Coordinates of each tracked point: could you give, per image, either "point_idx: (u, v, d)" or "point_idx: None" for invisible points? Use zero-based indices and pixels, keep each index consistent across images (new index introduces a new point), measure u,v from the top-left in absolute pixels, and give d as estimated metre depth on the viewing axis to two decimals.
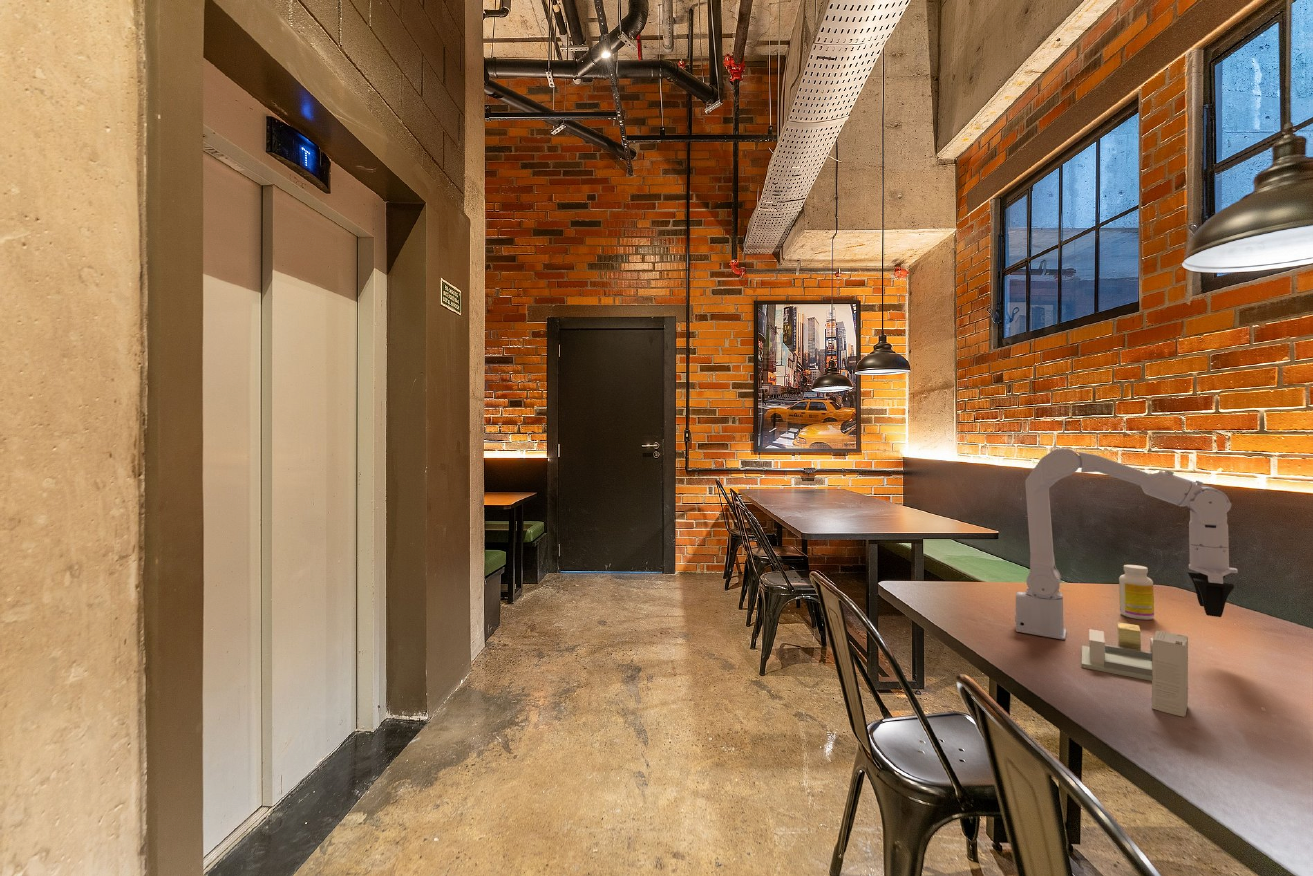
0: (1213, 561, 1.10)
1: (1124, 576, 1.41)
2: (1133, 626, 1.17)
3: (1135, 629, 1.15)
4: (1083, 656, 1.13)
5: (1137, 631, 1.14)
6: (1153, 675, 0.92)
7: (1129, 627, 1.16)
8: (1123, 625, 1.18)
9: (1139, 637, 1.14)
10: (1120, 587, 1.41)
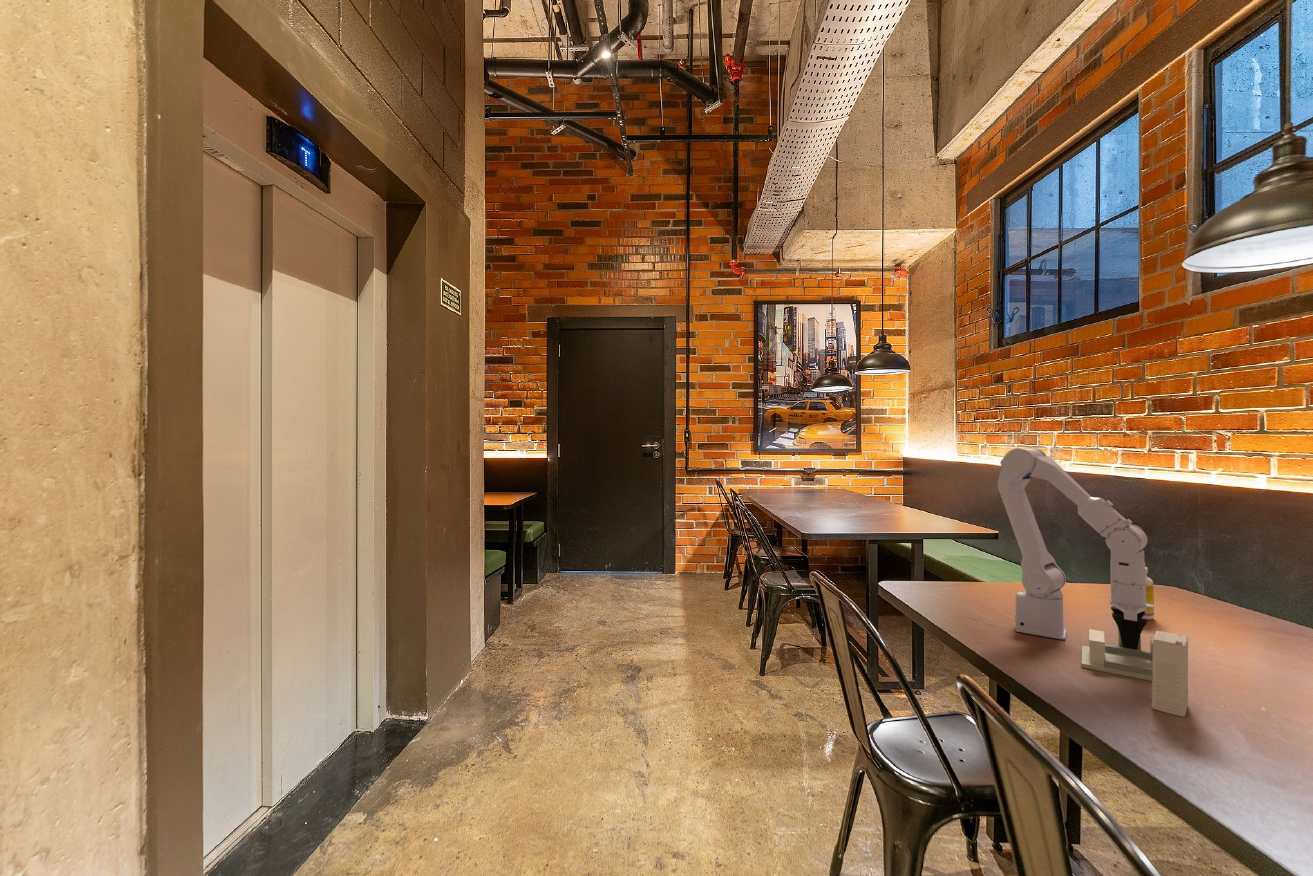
0: (1130, 598, 1.15)
1: None
2: None
3: None
4: (1083, 656, 1.13)
5: None
6: (1153, 675, 0.92)
7: None
8: None
9: None
10: None
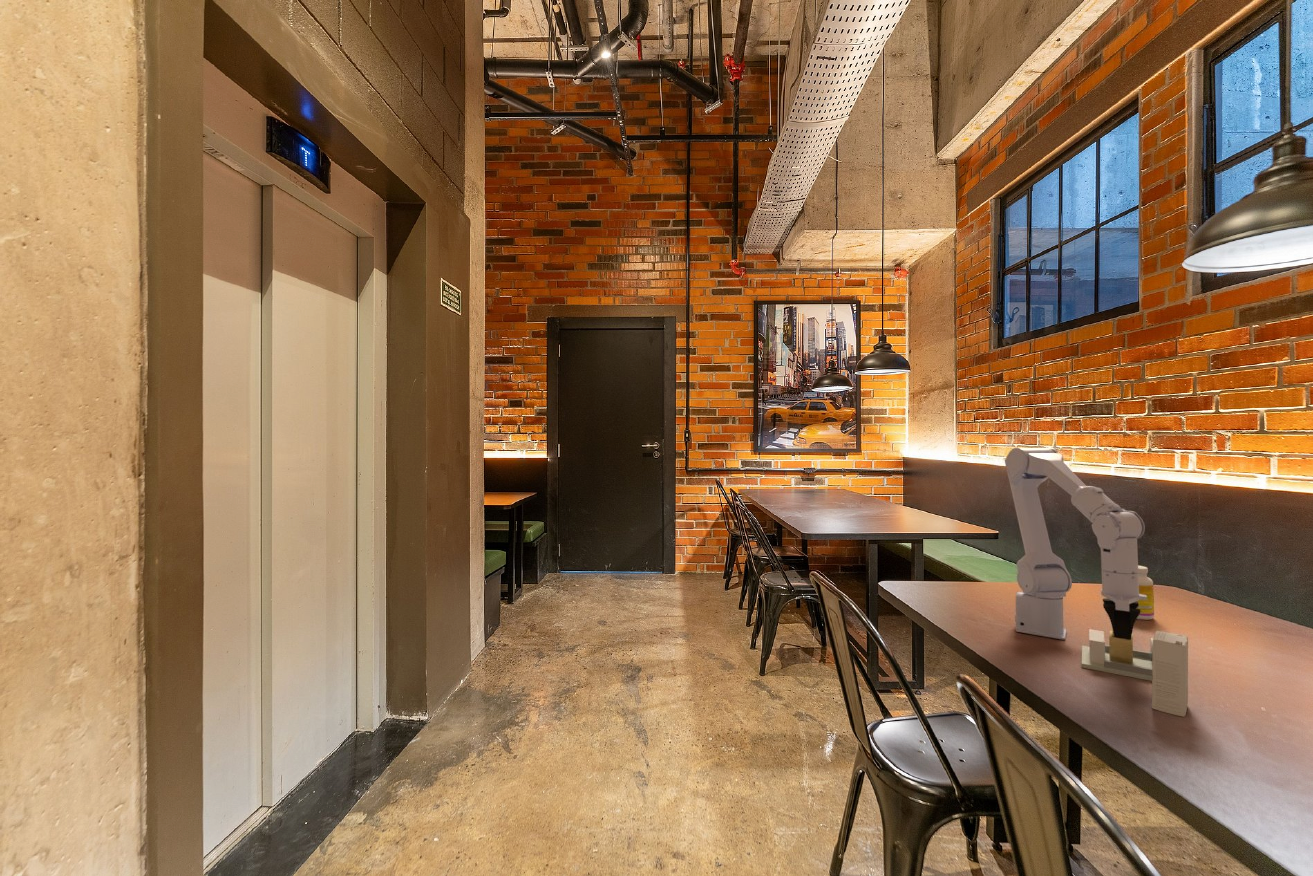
0: (1122, 588, 1.08)
1: None
2: None
3: None
4: (1083, 656, 1.13)
5: (1129, 640, 1.07)
6: (1153, 675, 0.92)
7: None
8: None
9: (1131, 647, 1.07)
10: None
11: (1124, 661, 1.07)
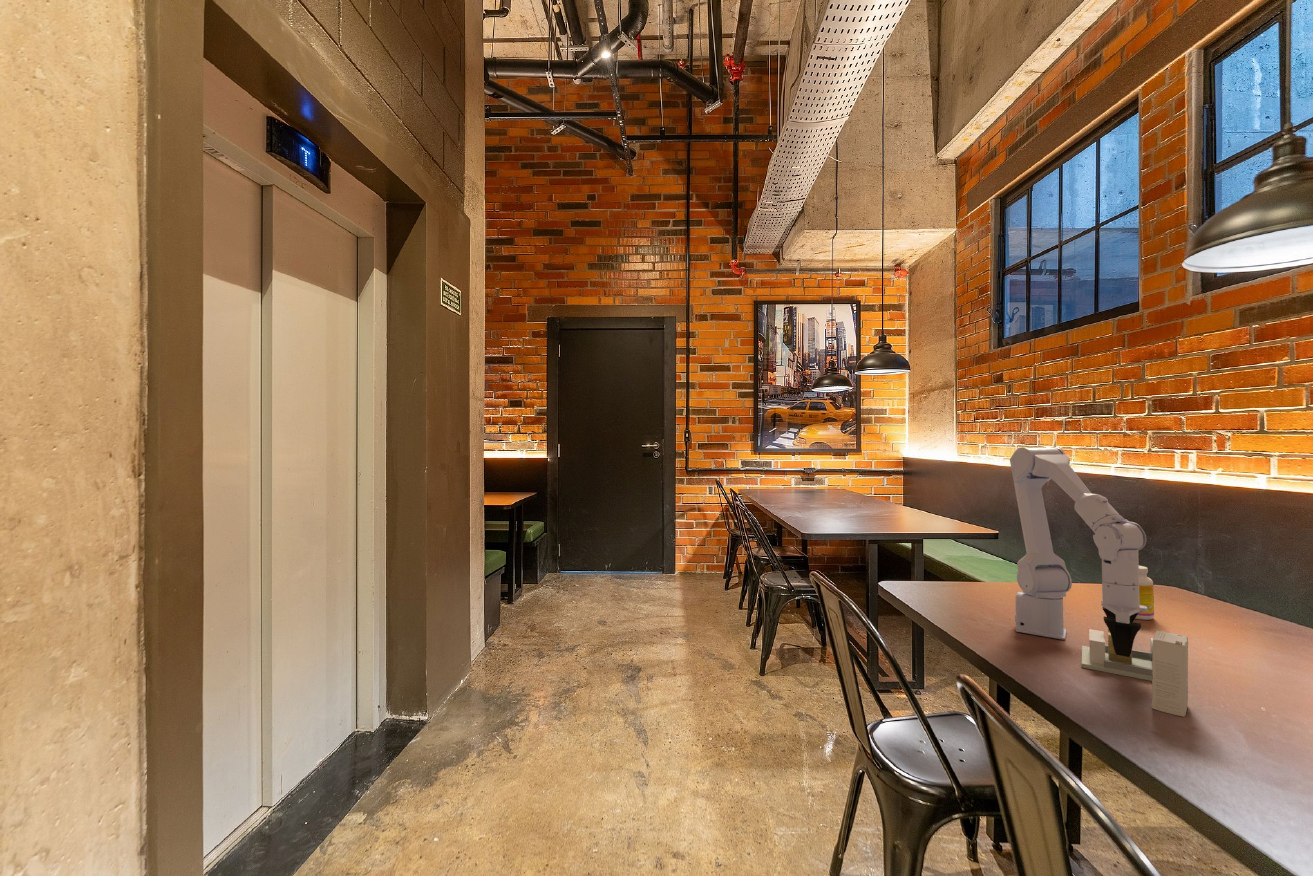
0: (1123, 599, 1.08)
1: None
2: None
3: None
4: (1083, 656, 1.13)
5: None
6: (1153, 675, 0.92)
7: None
8: None
9: None
10: None
11: (1123, 659, 1.08)
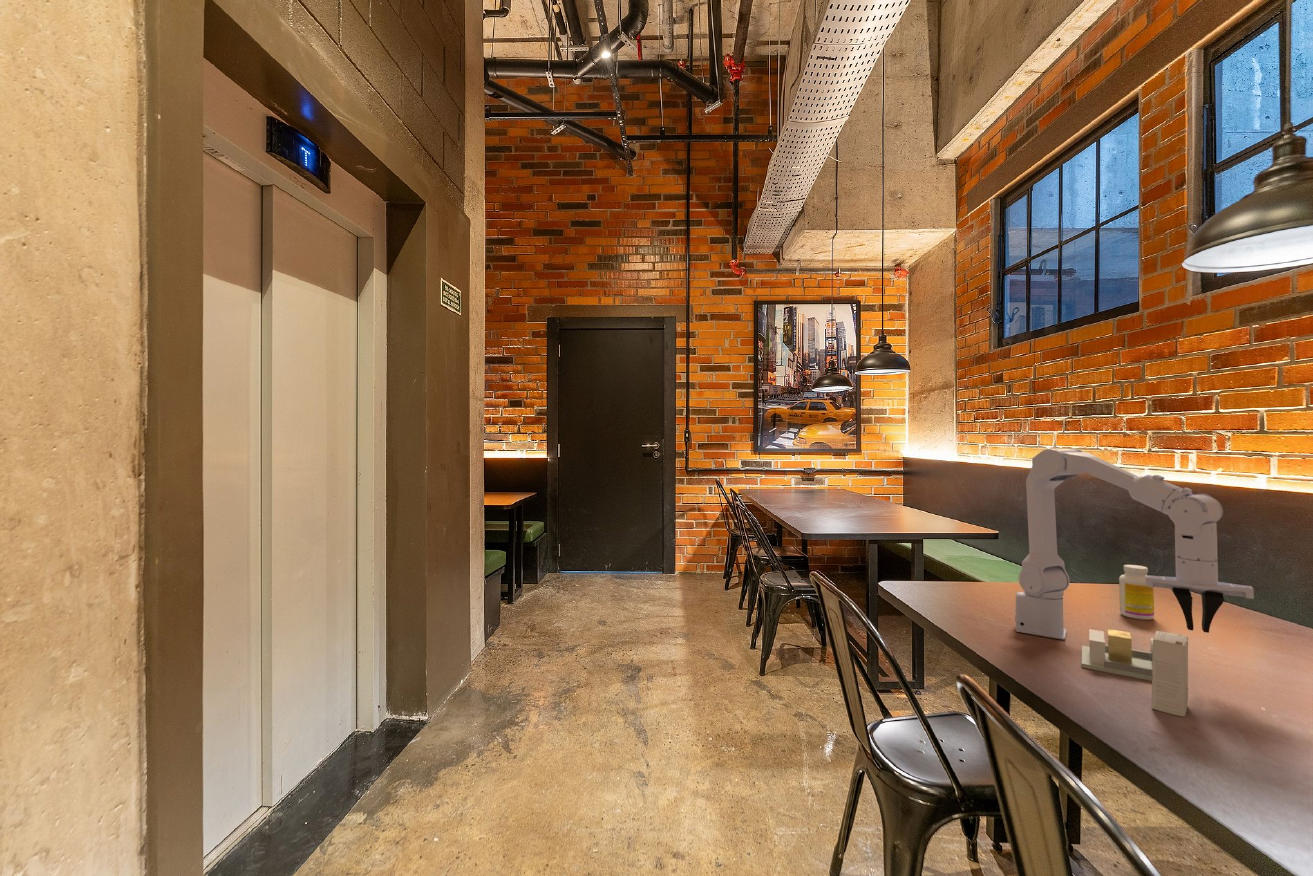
0: (1176, 571, 1.05)
1: (1124, 576, 1.41)
2: (1124, 633, 1.10)
3: (1126, 636, 1.08)
4: (1083, 656, 1.13)
5: (1128, 639, 1.08)
6: (1153, 675, 0.92)
7: (1120, 634, 1.10)
8: (1113, 632, 1.11)
9: (1130, 645, 1.08)
10: (1120, 587, 1.41)
11: (1123, 659, 1.08)
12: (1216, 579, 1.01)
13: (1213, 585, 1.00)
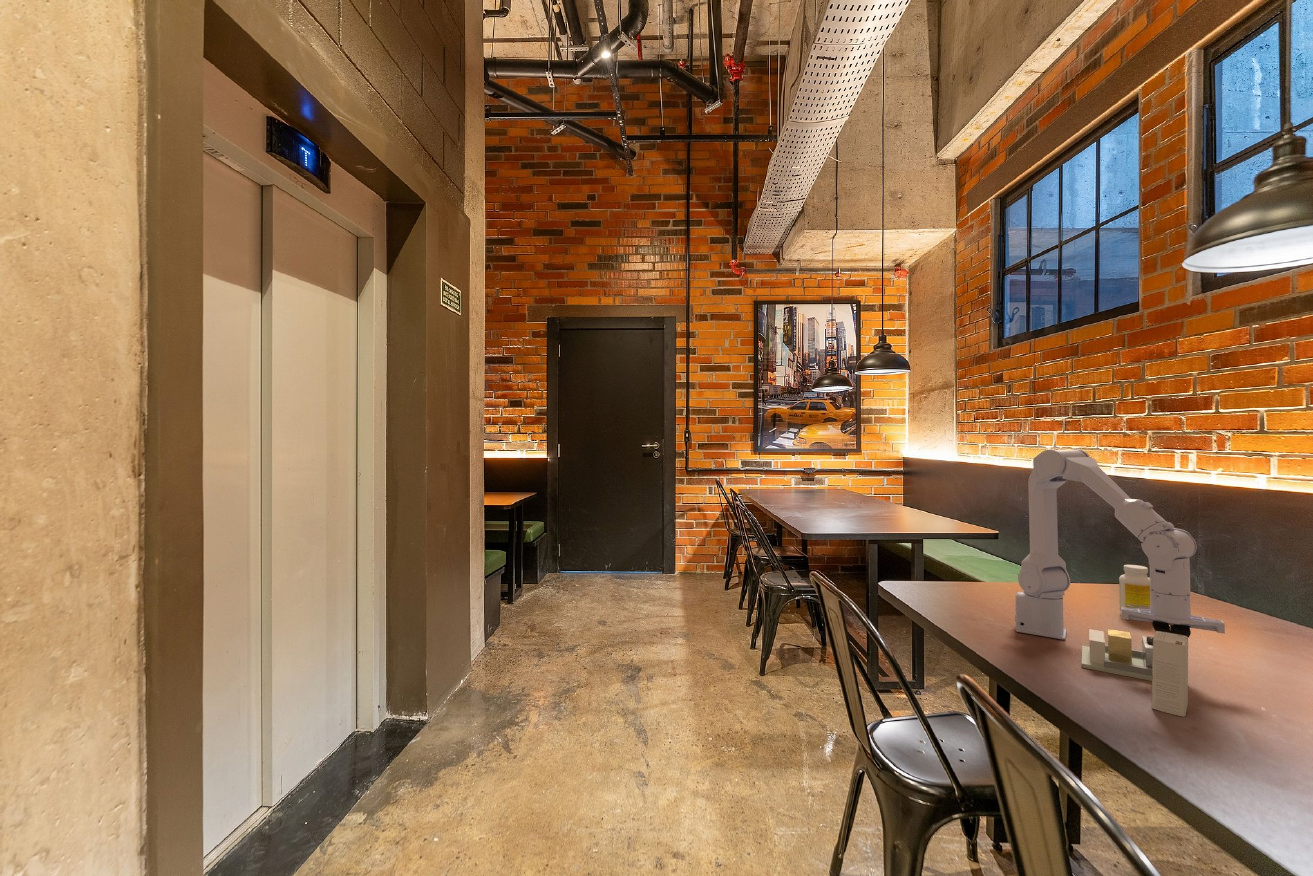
0: (1150, 604, 1.07)
1: (1124, 576, 1.41)
2: (1124, 633, 1.10)
3: (1126, 636, 1.08)
4: (1083, 656, 1.13)
5: (1128, 639, 1.08)
6: (1153, 675, 0.92)
7: (1120, 634, 1.10)
8: (1113, 632, 1.11)
9: (1130, 645, 1.08)
10: (1120, 587, 1.41)
11: (1123, 659, 1.08)
12: (1189, 613, 1.03)
13: (1186, 619, 1.03)
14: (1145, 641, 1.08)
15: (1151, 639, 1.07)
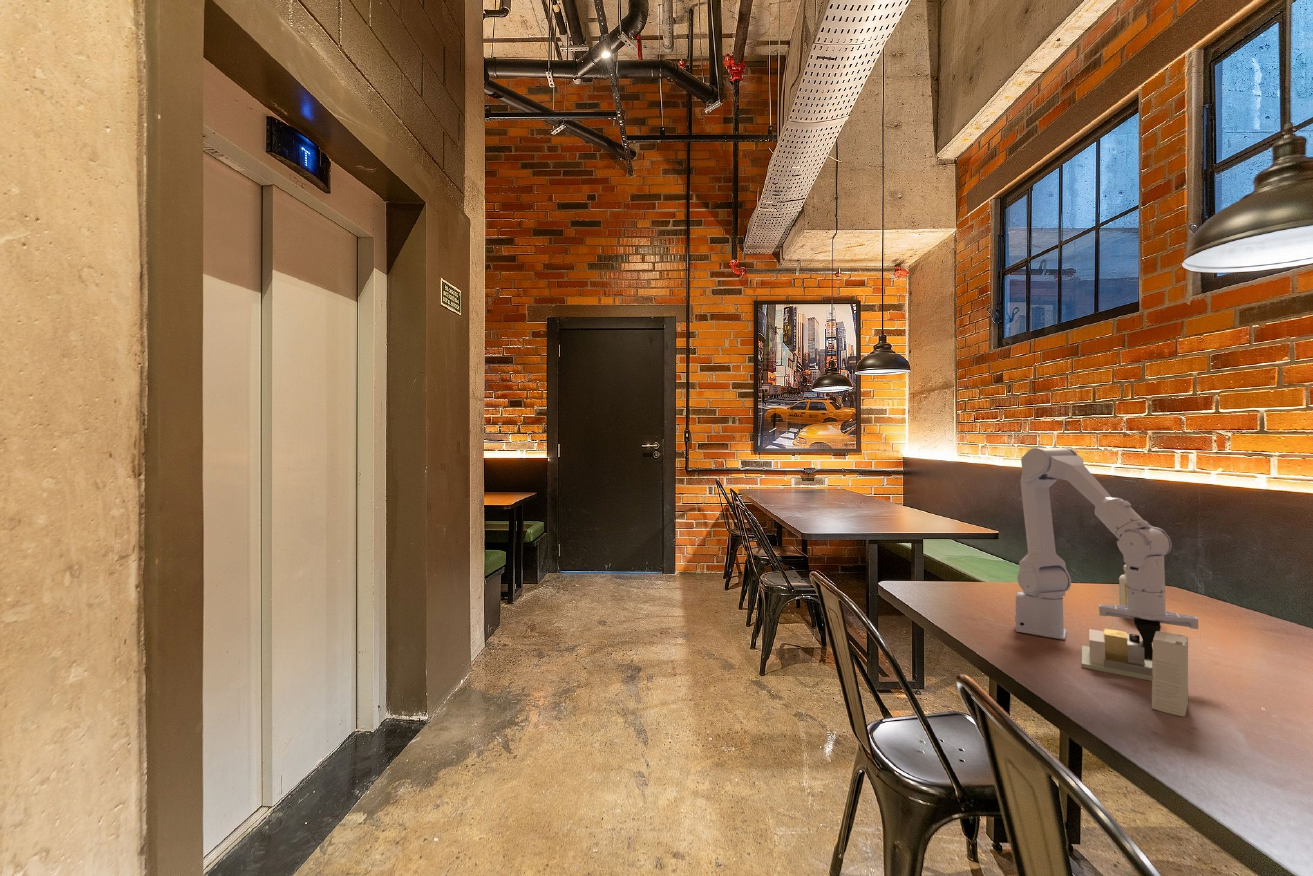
0: (1127, 601, 1.09)
1: (1124, 576, 1.41)
2: (1120, 632, 1.11)
3: (1122, 636, 1.09)
4: (1083, 656, 1.13)
5: (1124, 638, 1.08)
6: (1153, 675, 0.92)
7: (1115, 634, 1.10)
8: (1109, 631, 1.11)
9: (1126, 644, 1.08)
10: (1120, 587, 1.41)
11: (1119, 659, 1.09)
12: (1163, 609, 1.05)
13: (1160, 615, 1.05)
14: (1128, 638, 1.10)
15: (1133, 636, 1.08)
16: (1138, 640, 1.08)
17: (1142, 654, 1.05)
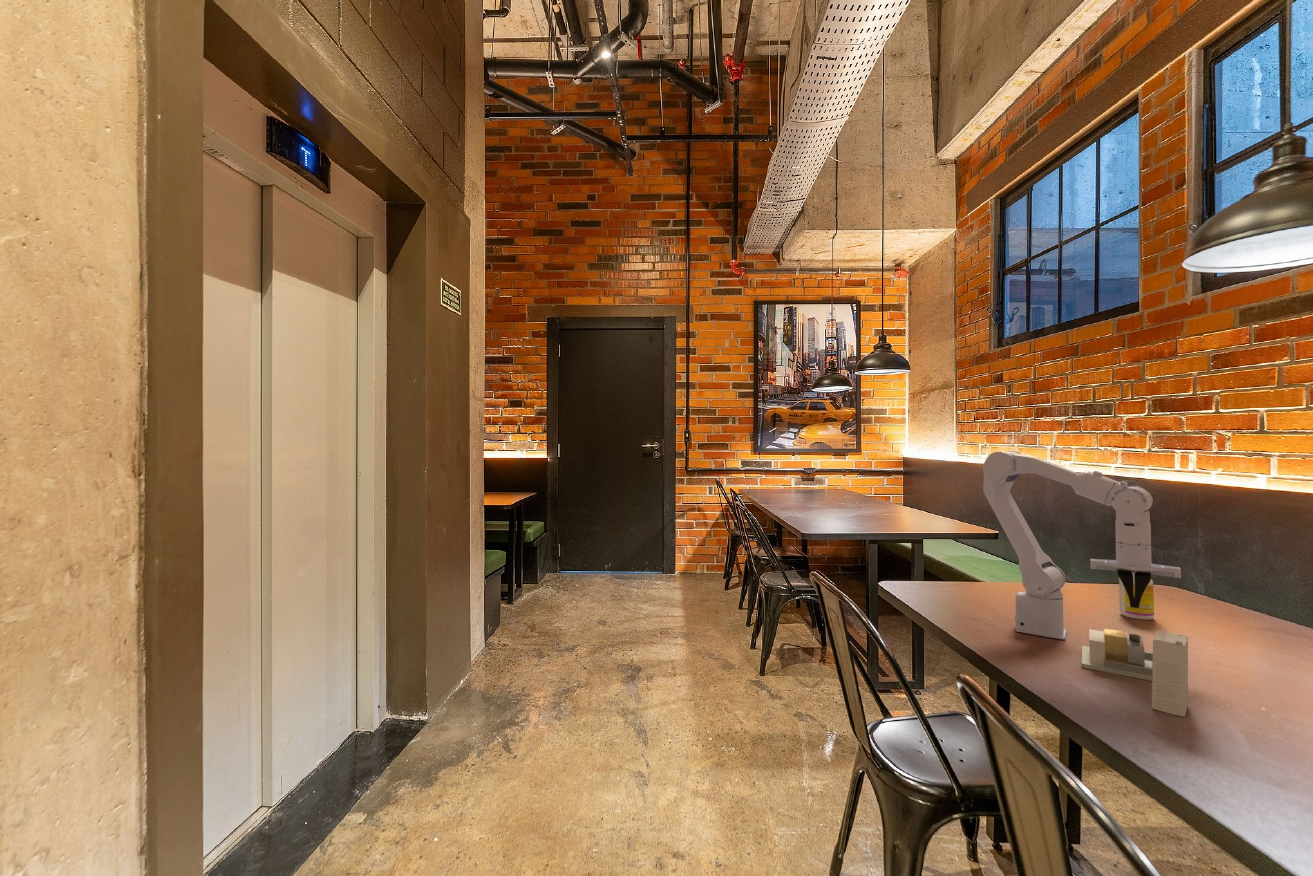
0: (1116, 554, 1.18)
1: None
2: (1120, 632, 1.11)
3: (1122, 636, 1.09)
4: (1083, 656, 1.13)
5: (1124, 638, 1.08)
6: (1153, 675, 0.92)
7: (1115, 634, 1.10)
8: (1109, 631, 1.11)
9: (1126, 644, 1.08)
10: (1120, 587, 1.41)
11: (1119, 659, 1.09)
12: (1149, 561, 1.14)
13: (1146, 566, 1.13)
14: (1128, 638, 1.10)
15: (1133, 636, 1.08)
16: (1138, 640, 1.08)
17: (1142, 654, 1.05)
